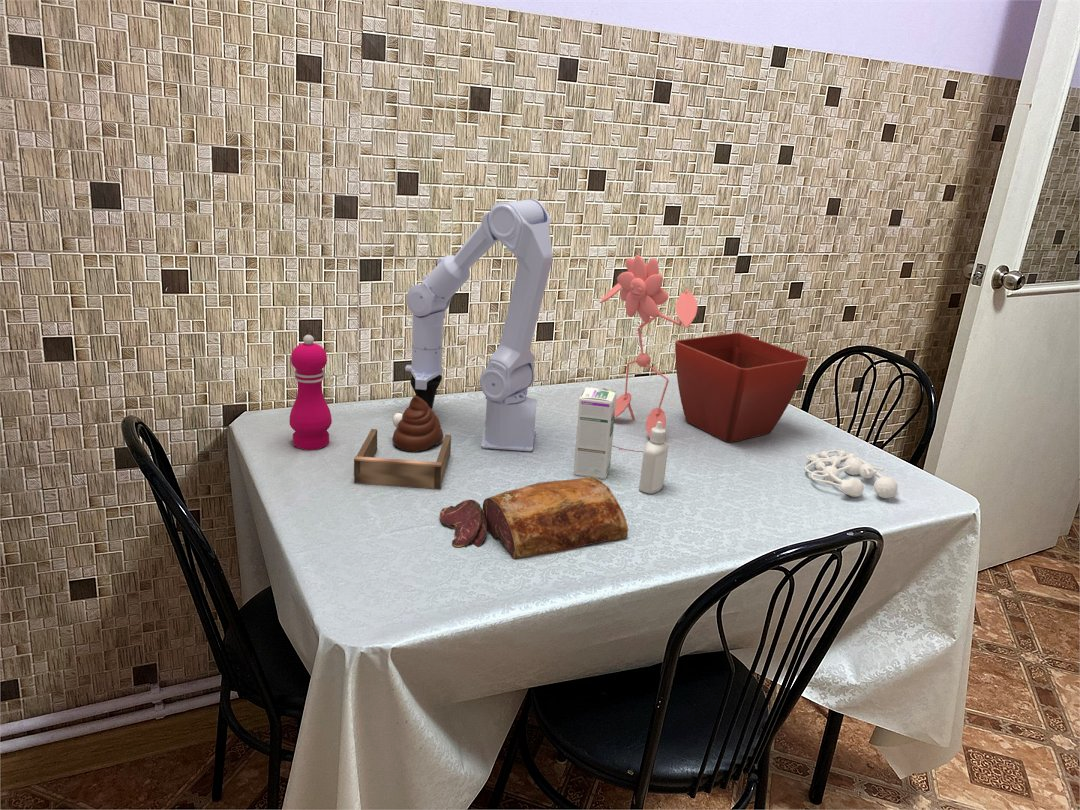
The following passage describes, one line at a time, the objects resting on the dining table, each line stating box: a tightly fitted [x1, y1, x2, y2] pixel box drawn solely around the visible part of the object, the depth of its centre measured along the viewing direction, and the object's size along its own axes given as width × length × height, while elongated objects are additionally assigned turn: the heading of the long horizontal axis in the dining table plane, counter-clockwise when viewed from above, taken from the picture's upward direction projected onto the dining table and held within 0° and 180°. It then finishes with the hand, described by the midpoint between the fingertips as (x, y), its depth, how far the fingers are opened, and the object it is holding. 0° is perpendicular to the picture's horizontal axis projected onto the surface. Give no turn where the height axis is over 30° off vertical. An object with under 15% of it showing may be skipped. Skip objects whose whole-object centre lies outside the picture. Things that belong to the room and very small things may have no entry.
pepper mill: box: [289, 334, 333, 451], centre depth 147 cm, size 7×7×20 cm
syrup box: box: [573, 387, 617, 480], centre depth 145 cm, size 6×6×14 cm
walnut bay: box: [353, 428, 452, 490], centre depth 143 cm, size 14×14×4 cm
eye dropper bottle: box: [638, 421, 669, 495], centre depth 141 cm, size 4×6×12 cm
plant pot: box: [674, 332, 809, 443], centre depth 169 cm, size 19×19×17 cm
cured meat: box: [439, 477, 629, 559], centre depth 126 cm, size 18×25×7 cm
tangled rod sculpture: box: [803, 449, 899, 499], centre depth 152 cm, size 19×14×4 cm
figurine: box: [599, 254, 699, 453], centre depth 159 cm, size 15×26×35 cm, turn 36°
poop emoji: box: [392, 395, 444, 453], centre depth 153 cm, size 10×8×9 cm
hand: (425, 412), depth 165 cm, fingers closed
